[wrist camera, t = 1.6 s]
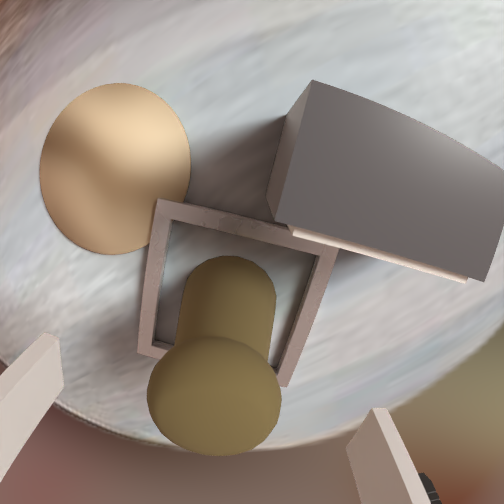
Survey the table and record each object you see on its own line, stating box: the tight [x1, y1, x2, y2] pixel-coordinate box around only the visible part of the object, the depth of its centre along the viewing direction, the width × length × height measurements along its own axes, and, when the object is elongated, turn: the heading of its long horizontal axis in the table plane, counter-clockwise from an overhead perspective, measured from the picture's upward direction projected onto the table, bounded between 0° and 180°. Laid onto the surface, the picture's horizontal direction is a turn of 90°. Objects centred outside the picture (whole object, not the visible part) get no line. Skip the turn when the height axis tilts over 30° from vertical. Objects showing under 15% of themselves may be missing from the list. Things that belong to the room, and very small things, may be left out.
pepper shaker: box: [147, 256, 282, 456], centre depth 15 cm, size 6×6×11 cm
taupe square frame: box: [137, 197, 339, 387], centre depth 20 cm, size 11×11×1 cm
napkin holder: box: [265, 80, 504, 284], centre depth 14 cm, size 5×10×8 cm, turn 76°
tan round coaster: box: [40, 83, 191, 255], centre depth 17 cm, size 11×11×1 cm
